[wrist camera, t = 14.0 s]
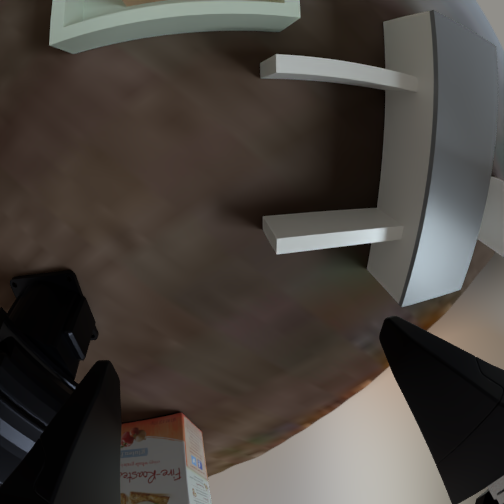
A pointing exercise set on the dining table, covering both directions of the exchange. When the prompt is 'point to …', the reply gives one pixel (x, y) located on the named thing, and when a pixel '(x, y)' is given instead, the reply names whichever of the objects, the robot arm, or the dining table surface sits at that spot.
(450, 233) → the grey forked piece
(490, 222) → the cylindrical container
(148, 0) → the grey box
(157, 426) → the cracker box
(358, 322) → the dining table surface
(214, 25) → the tray
